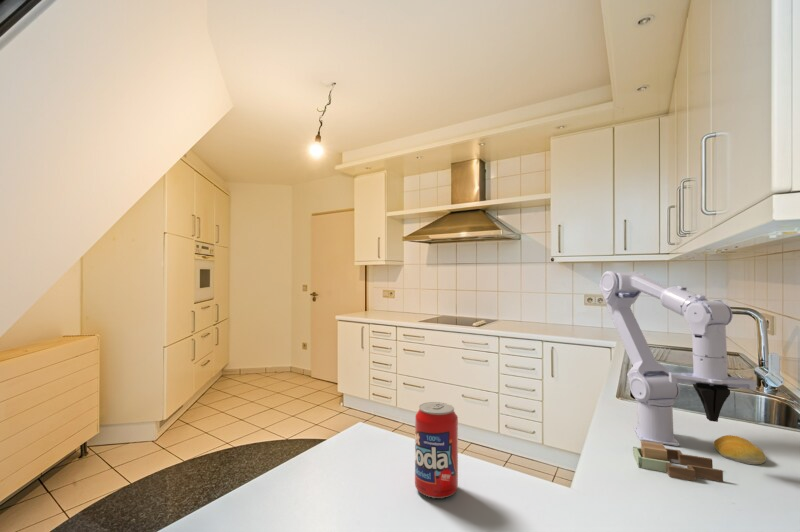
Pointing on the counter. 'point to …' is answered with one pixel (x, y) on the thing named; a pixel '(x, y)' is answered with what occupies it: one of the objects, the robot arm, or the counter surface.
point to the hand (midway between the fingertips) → (712, 420)
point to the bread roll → (739, 450)
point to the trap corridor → (695, 464)
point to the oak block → (653, 451)
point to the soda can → (436, 450)
